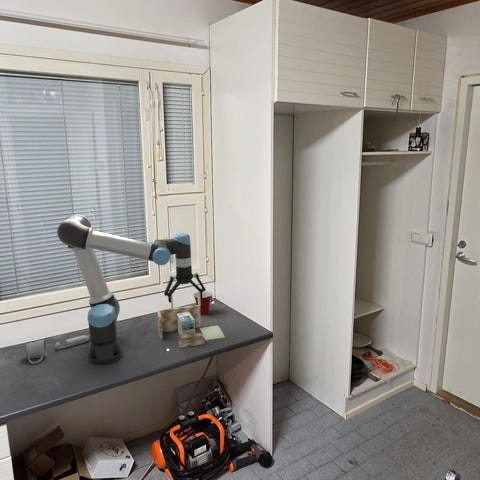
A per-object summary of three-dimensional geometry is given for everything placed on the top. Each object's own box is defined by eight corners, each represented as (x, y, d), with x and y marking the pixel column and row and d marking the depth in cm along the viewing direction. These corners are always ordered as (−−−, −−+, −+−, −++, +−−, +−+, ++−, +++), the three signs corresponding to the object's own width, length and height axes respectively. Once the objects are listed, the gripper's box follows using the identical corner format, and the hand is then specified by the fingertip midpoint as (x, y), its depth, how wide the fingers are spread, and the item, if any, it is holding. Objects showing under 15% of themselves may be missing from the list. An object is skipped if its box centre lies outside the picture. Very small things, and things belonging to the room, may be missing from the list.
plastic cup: (208, 308, 245) (208, 288, 242) (215, 315, 236) (215, 295, 233) (191, 311, 241) (190, 291, 238) (197, 318, 231) (196, 298, 228)
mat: (205, 340, 206) (205, 339, 206) (199, 328, 219) (199, 327, 219) (225, 337, 209) (225, 337, 208) (218, 326, 222) (218, 325, 221)
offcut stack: (180, 347, 199) (179, 338, 198) (178, 343, 203) (178, 334, 202) (204, 344, 203) (204, 335, 201) (202, 340, 207) (202, 331, 206)
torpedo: (56, 352, 196) (55, 339, 195) (54, 348, 200) (53, 335, 199) (95, 341, 207) (94, 329, 205) (92, 337, 210) (91, 325, 209)
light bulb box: (195, 339, 207) (195, 319, 205) (182, 342, 205) (181, 321, 202) (190, 330, 217) (189, 311, 214) (177, 332, 215) (176, 313, 212)
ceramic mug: (27, 355, 193) (25, 340, 191) (46, 351, 197) (44, 336, 195) (26, 366, 184) (23, 351, 182) (46, 362, 187) (44, 347, 185)
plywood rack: (160, 340, 207) (159, 317, 204) (158, 331, 216) (157, 310, 213) (204, 333, 213) (203, 312, 210) (200, 326, 222) (199, 304, 219)
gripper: (158, 270, 195) (161, 312, 200) (210, 264, 202) (212, 305, 207) (156, 265, 202) (159, 306, 207) (207, 260, 209) (208, 300, 214)
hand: (185, 306), depth 207 cm, fingers open, 13 cm apart
